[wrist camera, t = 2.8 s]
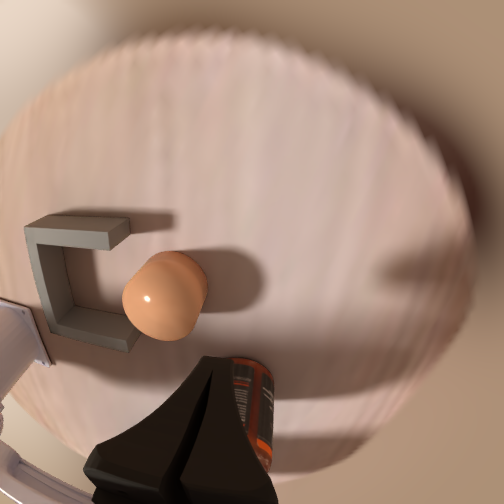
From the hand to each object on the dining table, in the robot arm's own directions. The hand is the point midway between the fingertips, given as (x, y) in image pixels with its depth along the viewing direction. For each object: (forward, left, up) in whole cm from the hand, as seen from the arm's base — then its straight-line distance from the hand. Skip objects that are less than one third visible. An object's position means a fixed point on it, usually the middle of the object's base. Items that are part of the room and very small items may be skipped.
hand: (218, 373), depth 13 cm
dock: (-12, -1, -9) cm, 15 cm away
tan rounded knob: (-5, -1, -9) cm, 10 cm away
